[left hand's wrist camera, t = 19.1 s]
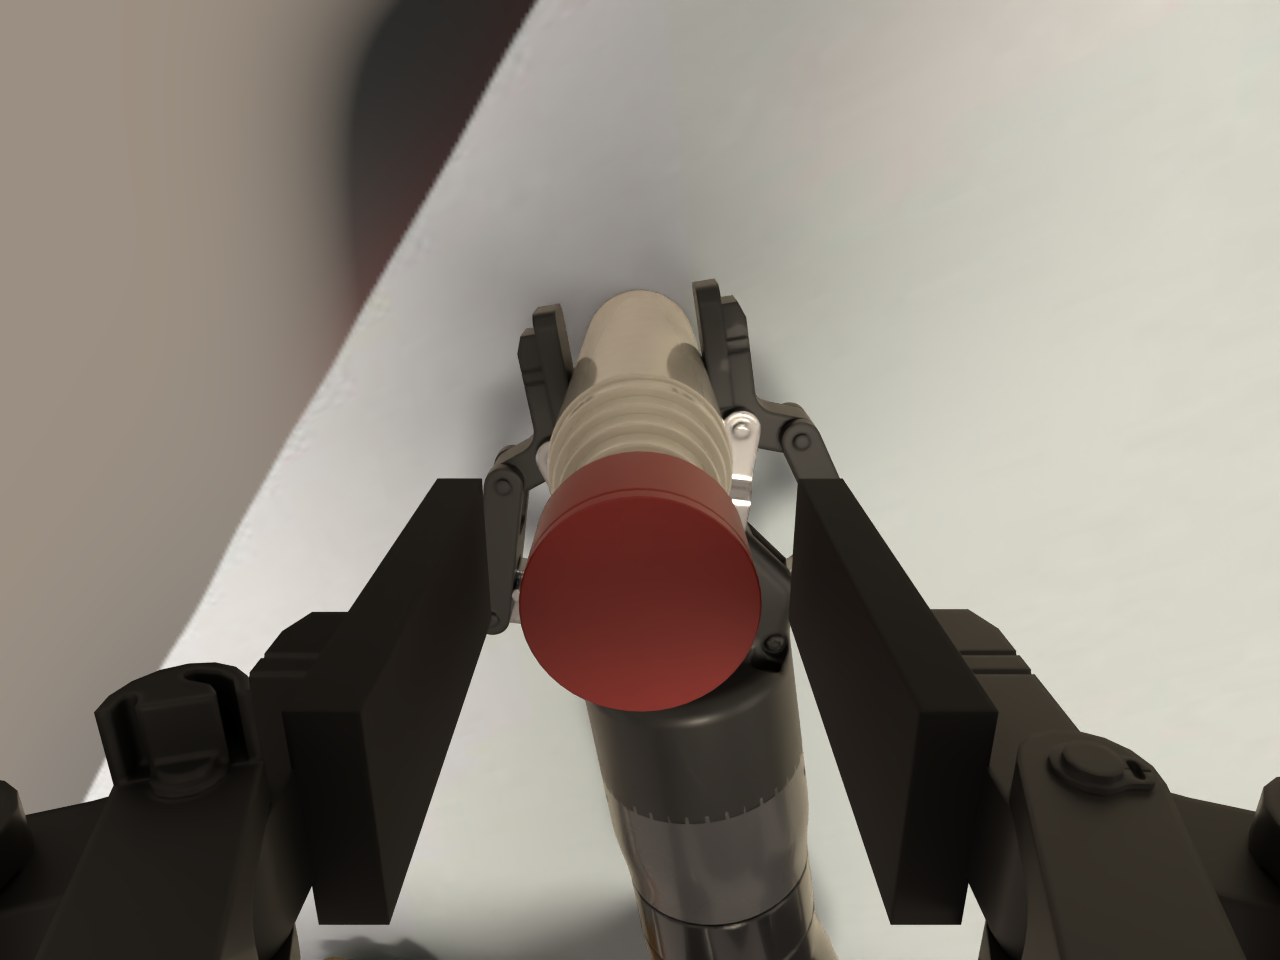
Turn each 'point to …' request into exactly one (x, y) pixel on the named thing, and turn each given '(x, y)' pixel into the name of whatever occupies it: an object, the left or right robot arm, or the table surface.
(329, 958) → the spray gun
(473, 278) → the table surface
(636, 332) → the bottle
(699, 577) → the cap
